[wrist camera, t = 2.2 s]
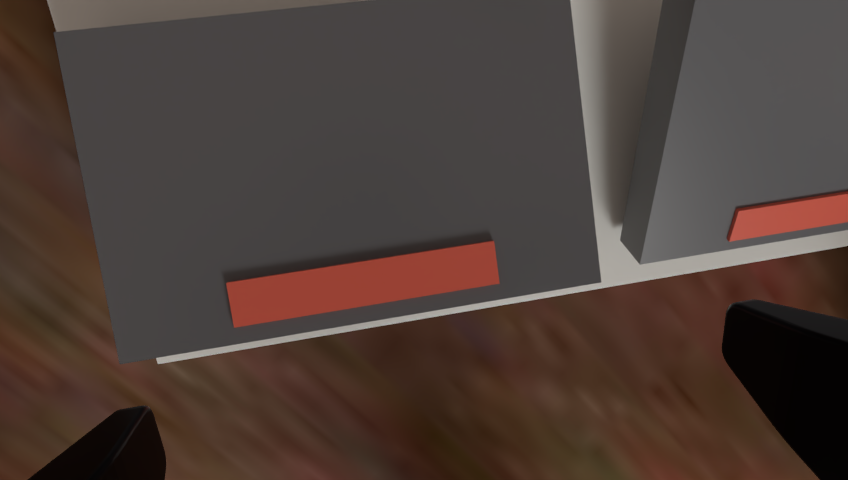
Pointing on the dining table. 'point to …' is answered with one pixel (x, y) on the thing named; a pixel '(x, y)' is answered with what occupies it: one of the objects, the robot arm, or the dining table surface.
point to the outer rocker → (328, 165)
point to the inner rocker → (741, 128)
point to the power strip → (603, 122)
